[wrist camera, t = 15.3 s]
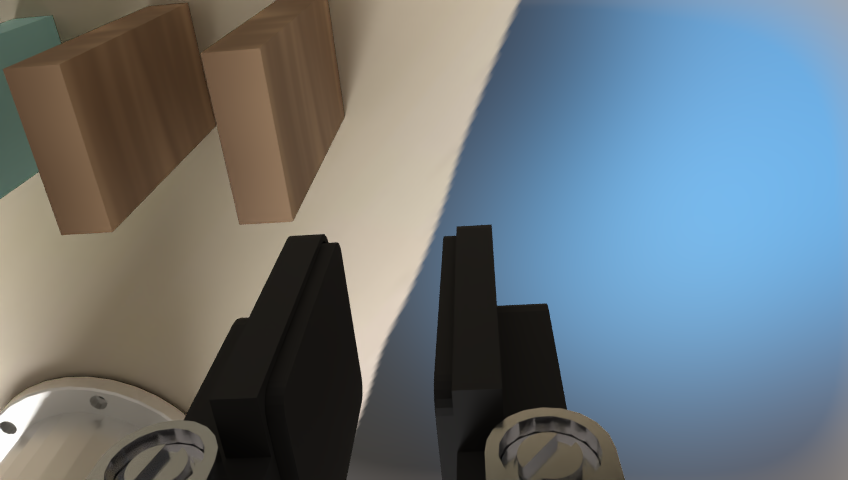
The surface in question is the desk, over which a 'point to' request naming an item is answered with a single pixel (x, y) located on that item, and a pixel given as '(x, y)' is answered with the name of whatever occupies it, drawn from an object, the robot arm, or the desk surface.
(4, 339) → the desk surface
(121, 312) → the desk surface
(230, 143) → the tile
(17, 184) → the tile
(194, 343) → the desk surface
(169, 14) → the tile
